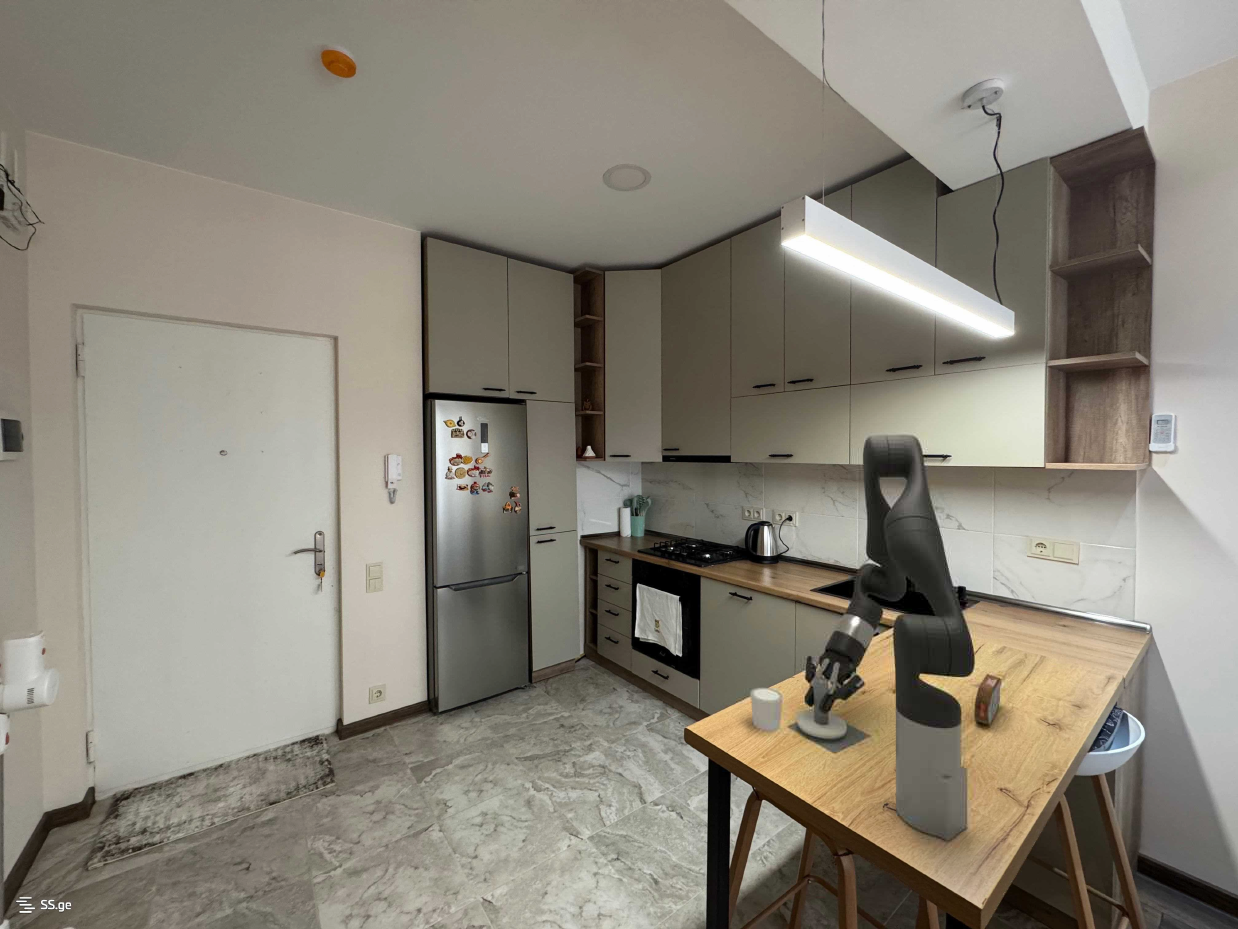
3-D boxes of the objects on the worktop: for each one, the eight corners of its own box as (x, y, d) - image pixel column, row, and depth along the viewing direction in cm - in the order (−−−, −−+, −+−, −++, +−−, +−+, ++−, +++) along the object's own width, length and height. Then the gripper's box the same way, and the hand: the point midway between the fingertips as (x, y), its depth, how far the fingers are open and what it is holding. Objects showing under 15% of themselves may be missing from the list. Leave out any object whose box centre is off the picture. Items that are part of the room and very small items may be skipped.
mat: (871, 737, 107) (871, 735, 107) (834, 755, 101) (834, 753, 101) (822, 712, 117) (822, 711, 117) (786, 727, 111) (786, 726, 111)
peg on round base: (856, 729, 108) (856, 683, 107) (826, 744, 102) (825, 695, 102) (817, 710, 116) (816, 666, 116) (786, 722, 111) (786, 676, 111)
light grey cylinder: (761, 736, 108) (760, 703, 108) (744, 720, 115) (744, 689, 115) (789, 731, 110) (789, 699, 110) (771, 715, 116) (771, 685, 116)
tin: (986, 702, 121) (986, 667, 121) (1003, 707, 119) (1003, 671, 119) (972, 727, 111) (972, 688, 110) (990, 732, 108) (990, 693, 108)
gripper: (816, 622, 119) (780, 686, 113) (872, 640, 107) (835, 713, 101) (830, 640, 122) (796, 703, 116) (887, 659, 110) (852, 732, 104)
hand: (815, 707), depth 108 cm, fingers closed on peg on round base, 3 cm apart
